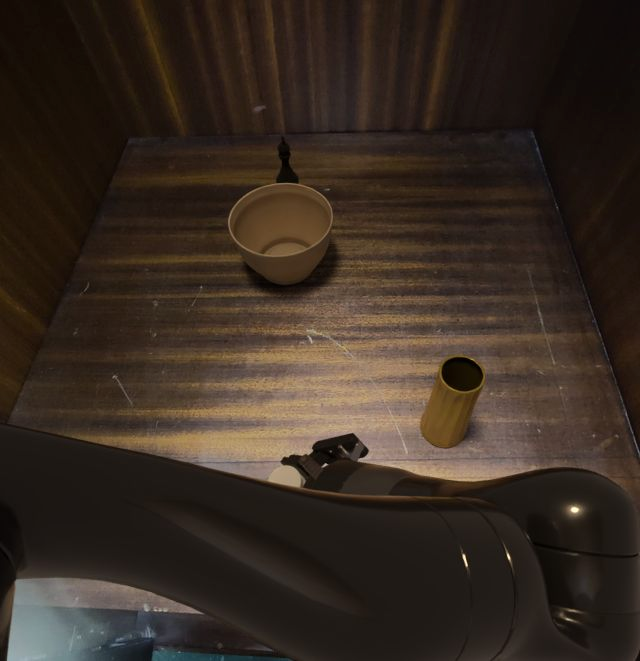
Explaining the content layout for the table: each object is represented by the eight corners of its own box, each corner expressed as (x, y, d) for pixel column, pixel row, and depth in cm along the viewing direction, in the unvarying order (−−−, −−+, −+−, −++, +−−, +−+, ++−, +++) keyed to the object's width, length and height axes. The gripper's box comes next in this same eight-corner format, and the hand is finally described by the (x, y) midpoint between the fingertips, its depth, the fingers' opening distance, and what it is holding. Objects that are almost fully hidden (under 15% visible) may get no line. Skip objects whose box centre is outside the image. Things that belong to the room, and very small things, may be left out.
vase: (475, 433, 69) (501, 379, 58) (439, 456, 67) (459, 406, 56) (445, 399, 72) (464, 342, 61) (410, 421, 71) (423, 366, 59)
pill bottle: (264, 510, 59) (254, 487, 52) (287, 478, 61) (280, 452, 54) (295, 532, 57) (289, 511, 51) (318, 499, 59) (314, 475, 53)
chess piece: (293, 171, 103) (289, 126, 94) (302, 184, 100) (298, 139, 92) (273, 178, 102) (266, 133, 94) (281, 191, 99) (275, 146, 91)
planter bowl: (221, 263, 89) (207, 215, 80) (293, 219, 95) (288, 169, 86) (279, 318, 82) (270, 272, 73) (353, 266, 87) (354, 218, 78)
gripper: (390, 414, 44) (289, 410, 58) (295, 565, 38) (206, 520, 52) (438, 468, 47) (330, 452, 61) (357, 620, 40) (256, 562, 54)
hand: (273, 483), depth 56 cm, fingers closed on pill bottle, 4 cm apart
